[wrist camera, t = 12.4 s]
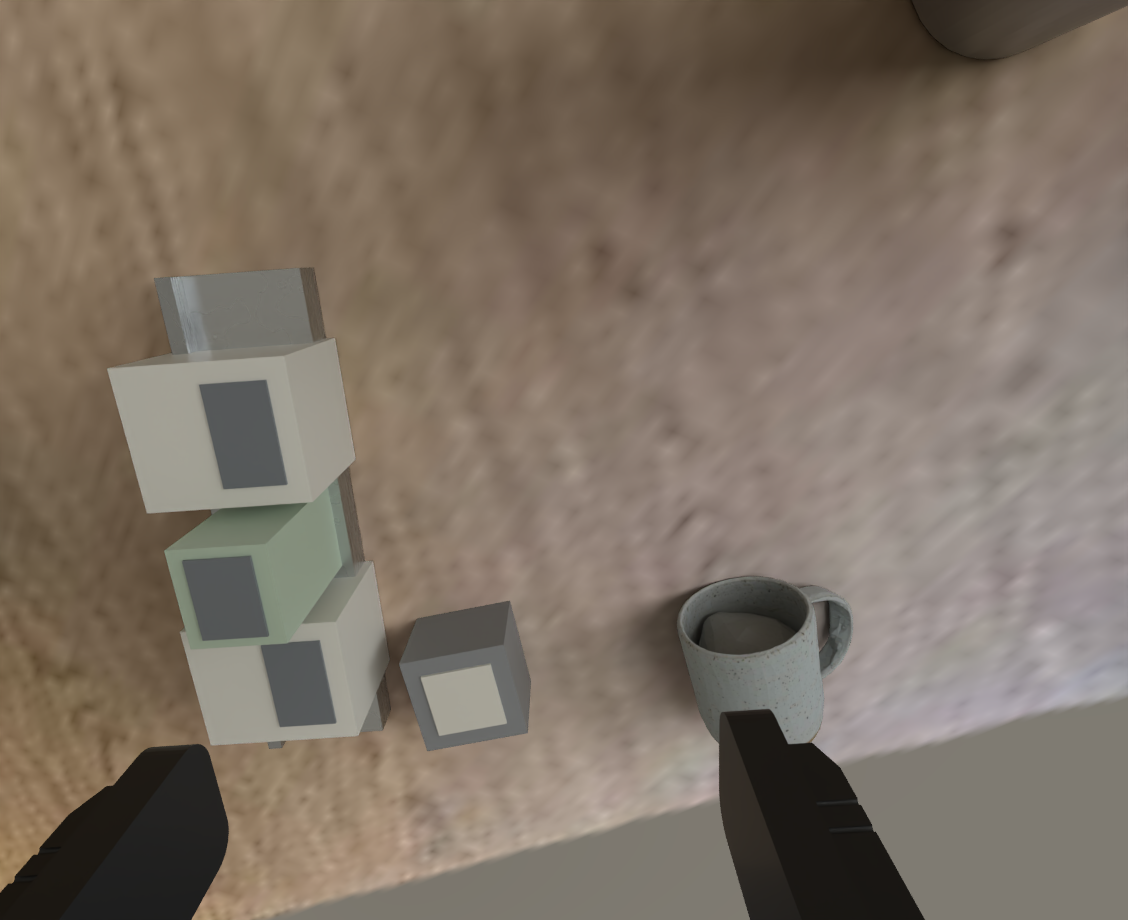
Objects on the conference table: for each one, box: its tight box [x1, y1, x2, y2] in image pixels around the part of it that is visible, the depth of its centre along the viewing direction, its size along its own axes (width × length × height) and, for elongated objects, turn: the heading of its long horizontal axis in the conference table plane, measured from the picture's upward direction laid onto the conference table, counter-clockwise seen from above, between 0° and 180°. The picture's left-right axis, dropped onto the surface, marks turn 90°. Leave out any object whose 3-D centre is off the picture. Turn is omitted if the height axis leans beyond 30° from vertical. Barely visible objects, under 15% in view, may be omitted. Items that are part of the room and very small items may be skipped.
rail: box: [154, 267, 391, 749], centre depth 38 cm, size 7×28×3 cm, turn 4°
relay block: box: [399, 601, 531, 751], centre depth 40 cm, size 6×6×5 cm
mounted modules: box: [107, 338, 390, 745], centre depth 36 cm, size 8×20×7 cm, turn 4°
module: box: [164, 487, 342, 650], centre depth 33 cm, size 4×5×8 cm
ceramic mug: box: [677, 576, 853, 744], centre depth 38 cm, size 11×8×8 cm
